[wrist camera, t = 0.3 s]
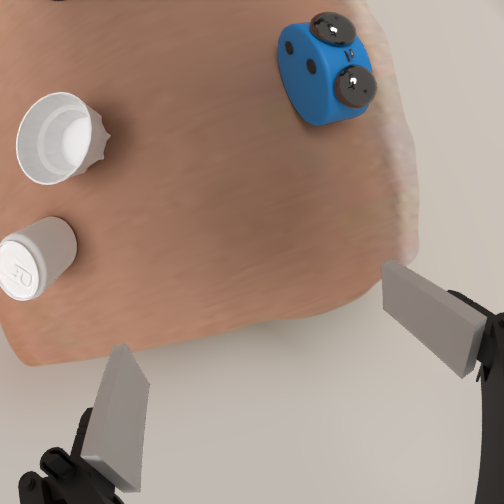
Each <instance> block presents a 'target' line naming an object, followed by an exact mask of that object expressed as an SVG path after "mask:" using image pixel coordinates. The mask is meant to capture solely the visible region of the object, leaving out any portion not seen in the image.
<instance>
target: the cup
mask: <svg viewBox="0 0 504 504" xmlns="http://www.w3.org/2000/svg"><path fill="white" fill-rule="evenodd" d="M110 137H111V135H110V134H108V133H107V132H106V130H105V128H104V126H103V124H102V116H101V115H100V114H98V113H97V112H96V111H94V110H93V109H92V108H90V107H89V106H88V105H87V104H85V103H84V102H83V101H82V100H81V99H79V98H78V97H76V96H74V95H72V94H70V93H65V92H57V93H52V94H49V95H47V96H45V97H43V98H41V99H40V100H38V101H37V102H36V103H35V104H34V105H32V107H31V108H30V109H29V110H28V112H27V113H26V114H25V116H24V118H23V120H22V122H21V124H20V127H19V130H18V134H17V140H16V152H17V158H18V162H19V164H20V166H21V169H22V170H23V172H24V173H25V174H26V175H27V177H28V178H30V179H31V180H33V181H34V182H36V183H40V184H44V185H49V184H56V183H58V182H61V181H63V180H66V179H68V178H70V177H73V176H76V175H79V174H82V173H85V172H86V170H87V169H88V167H89V166H90V165H92V164H93V163H95V162H96V161H98V160H102V159H104V149H105V146H106V142H107V140H108V139H109V138H110Z"/></svg>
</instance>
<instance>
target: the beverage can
mask: <svg viewBox="0 0 504 504" xmlns="http://www.w3.org/2000/svg"><path fill="white" fill-rule="evenodd" d="M76 252H77V242H76V238H75V235H74V233H73V231H72V229H71V227H70V226H69V225H68V224H67V223H66V222H65V221H64V220H62V219H60V218H58V217H46V218H43V219H41V220H39V221H37V222H35V223H32V224H30V225H28V226H26V227H24V228H22V229H20V230H18V231H16V232H14V233H12V234H10V235H8V236H6V237H5V238H4V239H3V240H2V241H1V243H0V286H1V288H2V289H3V290H4V291H5V292H6V293H7V294H8V295H9V296H10V297H12V298H14V299H16V300H20V301H25V300H31V299H34V298H36V297H38V296H39V295H41V294H42V293H43V292H44V291H45V290H46V289H47V288H48V287H49V286H50V285H51V284H52V283H53V282H54V281H55V280H56V279H57V278H58V277H59V276H60V275H61V274H62V273H63V272H64V271H65V270H66V269H67V268H68V267H69V266H70V265H71V264H72V263H73V261H74V259H75V256H76Z"/></svg>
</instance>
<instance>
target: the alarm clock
mask: <svg viewBox="0 0 504 504" xmlns="http://www.w3.org/2000/svg"><path fill="white" fill-rule="evenodd" d="M278 62H279V68H280V73H281V77H282V80H283V83H284V86H285V89H286V92H287V94H288V96H289V98H290V100H291V102H292V104H293V106H294V107H295V109H296V110H297V112H298V113H299V114H300V116H301V117H302V118H303V119H304V120H305V121H307V122H308V123H310V124H312V125H315V126H320V125H324V124H328V123H333V122H337V121H341V120H345V119H350V118H354V117H357V116H359V115H361V114H362V113H363V112H364V111H365V110H366V109H367V107H368V105H369V104H370V103H371V102H372V101H373V99H374V97H375V95H376V92H377V83H376V80H375V77H374V75H373V74H372V68H371V64H370V60H369V57H368V54H367V52H366V50H365V48H364V46H363V44H362V42H361V41H360V39H359V38H358V37H357V35H356V28H355V26H354V25H353V23H352V22H351V21H350V20H349V19H348V18H347V17H345V16H343V15H341V14H338V13H335V12H322V13H319V14H317V15H315V16H314V17H313V18H312V19H311V22H308V23H299V24H292V25H289V26H287V27H285V28H284V30H283V31H282V32H281V35H280V38H279V42H278Z"/></svg>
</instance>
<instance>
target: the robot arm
mask: <svg viewBox="0 0 504 504" xmlns="http://www.w3.org/2000/svg"><path fill="white" fill-rule="evenodd" d="M55 1H61V0H55ZM381 271H382V289H383V309H384V310H385V311H386V312H388V313H389V314H390V315H391V316H392V317H393V318H394V319H395V320H397V321H398V322H399V323H400V324H401V325H402V326H403V327H405V328H406V329H407V330H408V331H409V332H410V333H412V334H413V335H414V336H415V337H416V338H417V339H418V340H419V341H421V342H422V343H423V344H424V345H425V346H426V347H427V348H428V349H430V350H431V351H432V352H433V353H434V354H435V355H436V356H437V357H438V358H440V359H441V360H442V361H443V362H444V363H445V364H446V365H447V366H448V367H450V368H451V369H452V370H453V371H454V372H455V373H456V374H457V375H458V376H459V377H460V378H461V379H462V378H463V377H465V376H466V375H468V374H469V373H470V372H472V371H473V370H474V367H475V363H476V360H478V361H480V362H481V366H480V369H479V372H478V375H477V378H476V382H478V381H479V378H480V376H481V391H482V445H481V461H480V470H479V479H478V486H477V493H476V499H475V504H504V312H503V313H499V314H497V315H494V314H493V313H492V312H490V311H488V310H487V309H485V308H484V307H482V306H480V305H479V304H477V303H476V302H473V300H471V299H469V298H467V297H466V296H464V295H463V294H461V293H459V292H456V291H452V290H448V291H445V290H443V289H442V288H440V287H438V286H437V285H435V284H434V283H432V282H430V281H428V280H427V279H425V278H423V277H422V276H420V275H419V274H417V273H415V272H414V271H412V270H410V269H408V268H407V267H405V266H403V265H401V264H400V263H398V262H396V261H394V260H390V261H388V262H385V263H382V264H381ZM149 386H150V384H149V382H148V380H147V379H146V377H145V376H144V374H143V372H142V370H141V369H140V367H139V365H138V364H137V362H136V360H135V358H134V357H133V355H132V353H131V351H130V349H129V348H128V346H127V344H123V345H118V346H114V347H113V349H112V351H111V354H110V357H109V361H108V363H107V366H106V369H105V372H104V375H103V378H102V381H101V384H100V387H99V390H98V394H97V397H96V400H95V403H94V407H93V408H87V409H86V411H85V412H84V414H83V415H82V417H81V419H80V423H79V428H78V429H77V435H76V436H75V440H74V444H73V447H72V451H71V455H70V456H69V455H68V454H67V453H66V452H65V451H64V450H63V449H62V448H59V447H55V448H51V449H49V450H47V451H46V452H45V453H44V454H43V456H42V457H41V460H40V469H41V470H42V471H44V472H45V473H46V474H47V475H48V477H44V478H42V477H40V476H39V475H38V474H37V473H36V472H33V471H30V472H27V473H25V474H24V475H23V476H22V477H21V478H20V480H19V485H18V488H19V497H20V504H124V503H123V501H122V500H121V499H120V498H119V497H118V496H117V495H116V494H115V493H114V492H115V486H116V487H117V488H118V489H119V490H121V491H122V492H140V486H141V467H142V453H143V440H144V429H145V419H146V411H147V410H146V409H147V401H148V393H149Z"/></svg>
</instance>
